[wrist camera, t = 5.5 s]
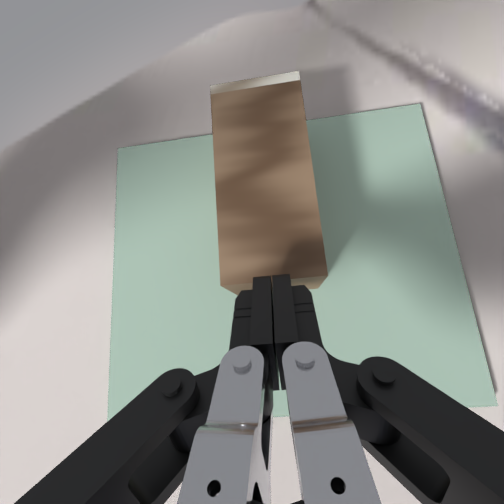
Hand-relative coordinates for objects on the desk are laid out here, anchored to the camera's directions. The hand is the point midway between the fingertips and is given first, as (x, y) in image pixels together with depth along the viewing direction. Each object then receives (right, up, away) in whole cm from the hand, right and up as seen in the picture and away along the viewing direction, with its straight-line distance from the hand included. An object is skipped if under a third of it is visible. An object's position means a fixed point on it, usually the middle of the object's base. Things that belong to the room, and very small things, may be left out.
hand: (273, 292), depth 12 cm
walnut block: (0, 0, +4) cm, 4 cm away
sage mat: (+1, +1, +7) cm, 8 cm away
